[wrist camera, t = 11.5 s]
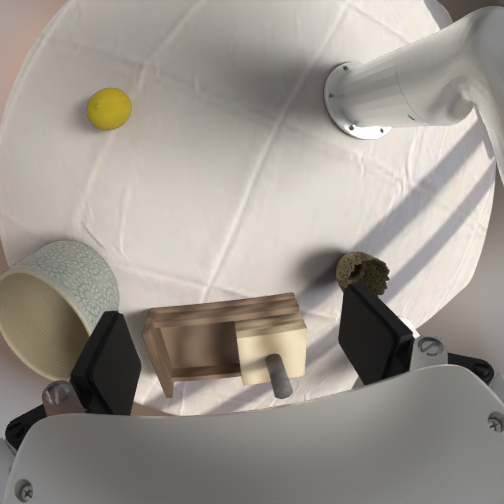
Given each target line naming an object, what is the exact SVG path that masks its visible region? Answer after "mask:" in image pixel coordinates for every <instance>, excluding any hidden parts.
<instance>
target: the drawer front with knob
mask: <svg viewBox="0 0 504 504" xmlns="http://www.w3.org/2000/svg"><path fill="white" fill-rule="evenodd" d="M234 322H235V331H236V339H237V347H238V354H239V362H240V369H241V376H242V381H243V386H244V385H251V384H258V383H265V382H271V383H272V387H273V391H274V394H275V397H276V398H279V399H284V398H287V397H289V396H290V395H291V394H292V392H293V390H292V387H291V384H290V381H289V378H294V377H299V376H304V371H305V357H306V341H307V327H306V325H305V323H304V320H303V319H302V317H301V315H300V313H299V312H295V313H289V314H282V315H276V316H269V317H261V318H254V319H246V320H238V321H234Z"/></svg>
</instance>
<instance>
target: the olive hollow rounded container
mask: <svg viewBox="0 0 504 504" xmlns="http://www.w3.org/2000/svg"><path fill="white" fill-rule="evenodd" d="M388 274H389V269H388V267H387V266H386V263H384V262H383V261H381V260H379V259H377V258H375V257H373V256H371V255H369V254H366V253H363V252H351V253H349V254H345V255H343V256H342V257H340V259H339V260H338V263H337V269H336V278H337V281H338V284H339V286H340V288H341V289H342V291H343V293H344V289H345V288H346V287H347V286H348V284H350V283H356V282H362V283H363V284H364V285H365V286H367V287H368V288H369V289H370V290H371V291H372V292H373V293H374V294H375V295H376V296H378V295H383V294H384V289H387V285H386V282H385V281H388V280H390V279H389V277H388V276H387V275H388Z"/></svg>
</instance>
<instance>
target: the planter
mask: <svg viewBox="0 0 504 504" xmlns="http://www.w3.org/2000/svg"><path fill="white" fill-rule="evenodd" d="M118 309H119V290H118V285H117V282H116V279H115V276H114V274H113V272H112V270H111V268H110V267H109V265H108V264H107V262H106V261H105V260H104V259H103V258H102V257H101V256H100V255H99V254H98V253H97V252H96V251H95V250H93V249H92V248H90V247H89V246H87V245H85V244H83V243H80V242H77V241H71V240H61V241H56V242H53V243H50V244H48V245H46V246H44V247H42V248H40V249H38V250H37V251H35V252H34V253H32V254H30V255H29V256H27V257H25V258H24V259H22V260H20V261H19V262H17V263H16V264H14V265H13V266H11V267H10V268H8V269H7V270H6V271H5V272H3V273H2V274H1V275H0V332H1V334H2V335H3V337H4V339H5V341H6V342H7V344H8V345H9V347H10V348H11V349H12V350H13V352H14V353H15V354H16V355H17V356H18V357H19V358H20V359H21V360H22V361H23V362H24V363H25V364H26V365H27V366H28V367H30V368H31V369H32V370H34V371H35V372H37V373H38V374H40V375H42V376H44V377H46V378H48V379H51V380H53V381H57V380H65V381H68V382H69V380H70V378H71V376H70V374H71V372H72V370H73V368H74V366H75V364H76V362H77V360H78V358H79V356H80V354H81V352H82V350H83V348H84V347H85V345H86V343H87V341H88V339H89V337H90V336H91V334H92V332H93V330H94V328H95V327H96V325H97V323H98V321H99V320H100V318H101V316H102V315H103V313H104V312H105V311H116V310H117V311H118Z"/></svg>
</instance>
